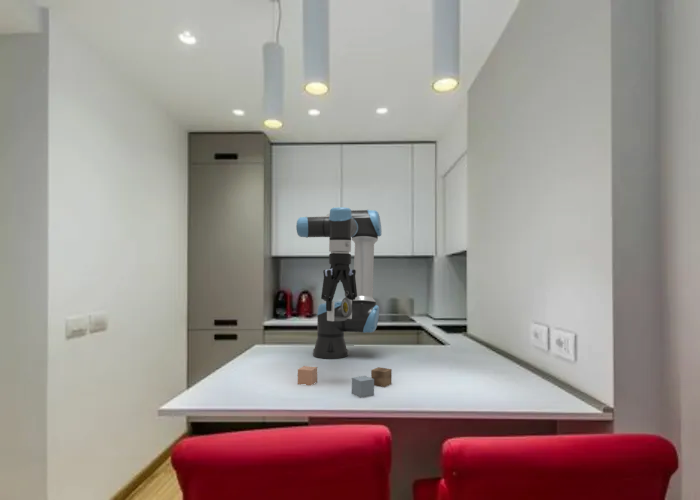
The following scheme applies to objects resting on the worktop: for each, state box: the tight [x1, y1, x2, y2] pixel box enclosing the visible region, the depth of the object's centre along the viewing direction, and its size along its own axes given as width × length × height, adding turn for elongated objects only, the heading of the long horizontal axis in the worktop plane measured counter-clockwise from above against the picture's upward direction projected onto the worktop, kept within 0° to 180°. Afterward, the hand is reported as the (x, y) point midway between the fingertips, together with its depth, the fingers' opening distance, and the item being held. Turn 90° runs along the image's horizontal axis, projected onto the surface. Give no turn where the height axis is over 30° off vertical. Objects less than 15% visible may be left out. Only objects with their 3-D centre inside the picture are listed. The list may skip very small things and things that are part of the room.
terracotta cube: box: [297, 365, 318, 386], centre depth 152 cm, size 5×5×5 cm
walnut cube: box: [370, 366, 393, 388], centre depth 150 cm, size 5×5×5 cm
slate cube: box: [351, 375, 375, 399], centre depth 139 cm, size 5×5×5 cm
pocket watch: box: [334, 291, 352, 321], centre depth 154 cm, size 8×8×10 cm
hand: (339, 319), depth 153 cm, fingers closed on pocket watch, 8 cm apart
